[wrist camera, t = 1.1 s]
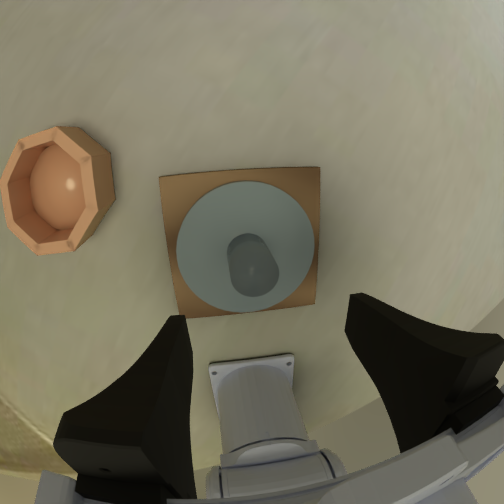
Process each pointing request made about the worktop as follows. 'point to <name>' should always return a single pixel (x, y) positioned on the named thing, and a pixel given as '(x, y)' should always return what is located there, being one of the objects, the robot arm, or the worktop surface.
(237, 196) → the lid
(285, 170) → the board
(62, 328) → the worktop surface
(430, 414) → the robot arm
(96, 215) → the pot
